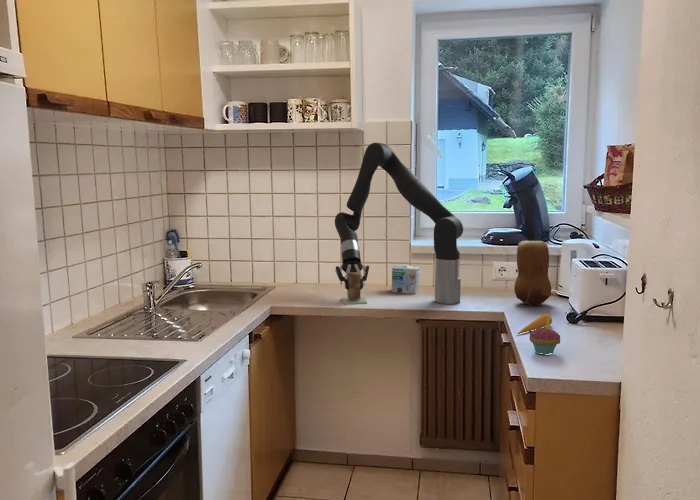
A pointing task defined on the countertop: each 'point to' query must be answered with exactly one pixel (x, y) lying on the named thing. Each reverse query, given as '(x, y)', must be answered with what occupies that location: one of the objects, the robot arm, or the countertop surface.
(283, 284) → the countertop surface
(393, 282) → the light bulb box
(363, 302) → the coaster
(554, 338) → the cupcake
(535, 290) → the butternut squash
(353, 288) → the walnut block
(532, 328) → the carrot
